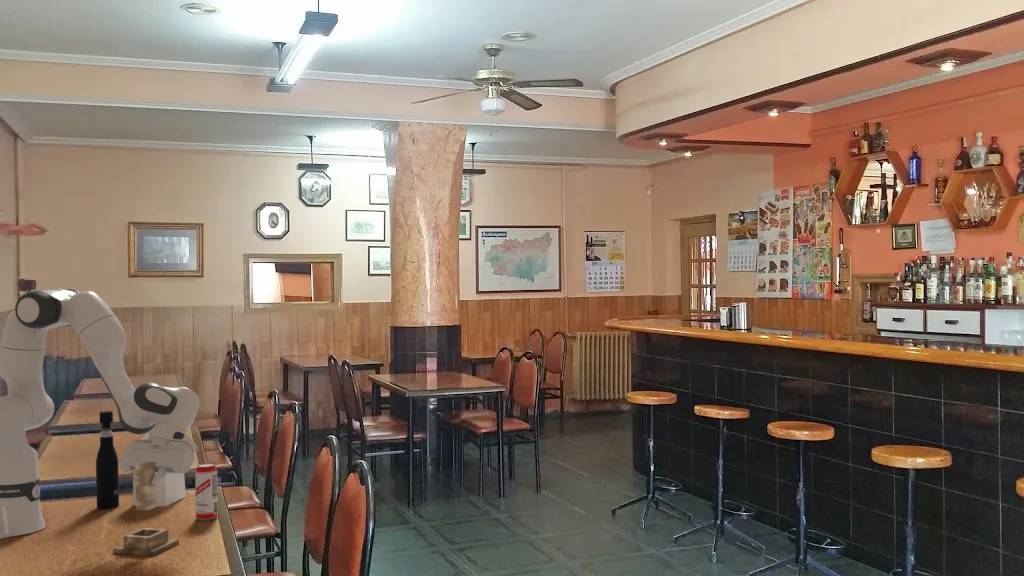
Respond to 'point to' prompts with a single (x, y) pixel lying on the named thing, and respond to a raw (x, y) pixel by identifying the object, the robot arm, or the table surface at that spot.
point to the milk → (166, 486)
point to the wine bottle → (107, 466)
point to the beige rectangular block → (145, 486)
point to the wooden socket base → (146, 542)
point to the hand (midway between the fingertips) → (144, 484)
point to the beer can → (206, 491)
